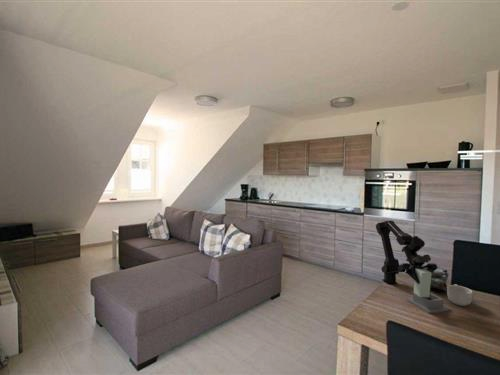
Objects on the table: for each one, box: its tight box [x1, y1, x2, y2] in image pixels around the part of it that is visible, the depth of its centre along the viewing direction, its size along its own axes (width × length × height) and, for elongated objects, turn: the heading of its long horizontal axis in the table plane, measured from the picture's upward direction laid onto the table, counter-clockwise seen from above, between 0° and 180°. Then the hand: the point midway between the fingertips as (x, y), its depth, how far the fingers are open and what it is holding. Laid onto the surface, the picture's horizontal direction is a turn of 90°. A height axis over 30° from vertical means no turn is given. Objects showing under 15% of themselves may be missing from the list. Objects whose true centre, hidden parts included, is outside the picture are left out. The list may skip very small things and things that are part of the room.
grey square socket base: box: [405, 292, 452, 315], centre depth 140 cm, size 14×14×5 cm
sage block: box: [413, 269, 432, 297], centre depth 137 cm, size 5×5×13 cm
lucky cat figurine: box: [430, 268, 449, 293], centre depth 161 cm, size 15×12×14 cm
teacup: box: [446, 283, 473, 307], centre depth 144 cm, size 14×11×8 cm
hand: (424, 283), depth 136 cm, fingers closed on sage block, 5 cm apart
